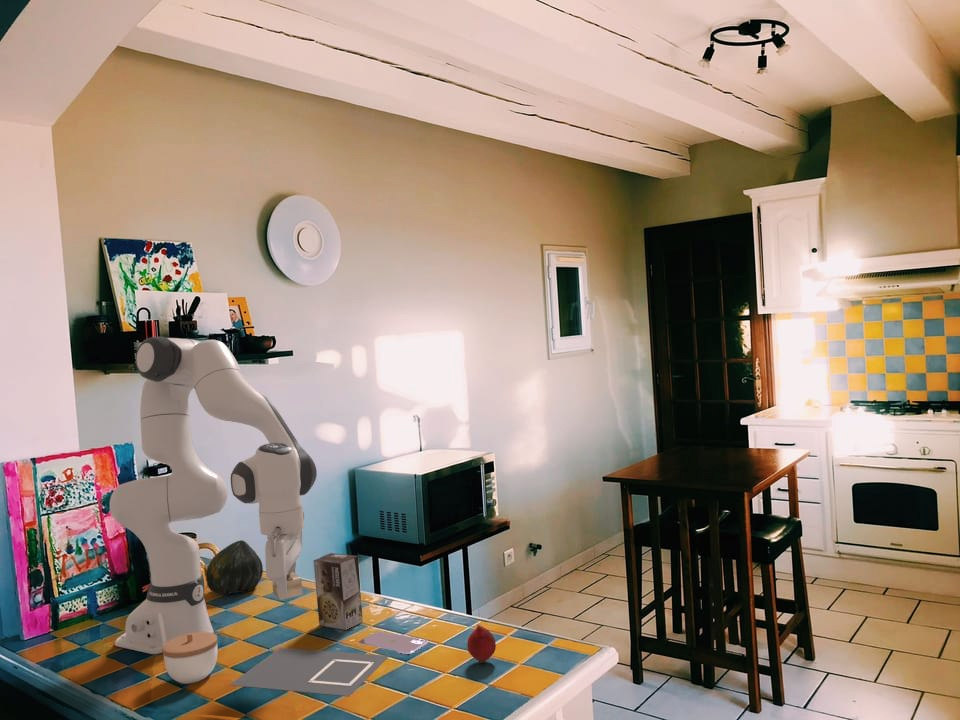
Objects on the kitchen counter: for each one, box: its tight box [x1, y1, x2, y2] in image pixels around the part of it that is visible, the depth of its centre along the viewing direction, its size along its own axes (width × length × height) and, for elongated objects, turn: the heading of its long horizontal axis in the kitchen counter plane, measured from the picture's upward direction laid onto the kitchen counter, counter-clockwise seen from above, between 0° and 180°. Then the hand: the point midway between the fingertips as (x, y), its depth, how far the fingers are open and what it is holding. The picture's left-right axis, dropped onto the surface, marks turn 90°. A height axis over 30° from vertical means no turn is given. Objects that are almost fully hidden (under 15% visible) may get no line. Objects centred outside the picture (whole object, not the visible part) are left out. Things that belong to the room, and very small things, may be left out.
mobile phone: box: [357, 631, 429, 655], centre depth 167 cm, size 8×1×15 cm
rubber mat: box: [229, 647, 390, 697], centre depth 155 cm, size 27×18×1 cm, turn 72°
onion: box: [466, 623, 497, 664], centre depth 154 cm, size 6×6×8 cm
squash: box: [205, 539, 264, 596], centre depth 211 cm, size 14×15×15 cm
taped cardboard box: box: [271, 572, 303, 601], centre depth 156 cm, size 6×4×4 cm
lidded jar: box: [162, 632, 219, 685], centre depth 156 cm, size 11×11×9 cm
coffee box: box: [313, 552, 364, 631], centre depth 181 cm, size 9×6×16 cm
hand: (287, 587), depth 156 cm, fingers closed on taped cardboard box, 7 cm apart
